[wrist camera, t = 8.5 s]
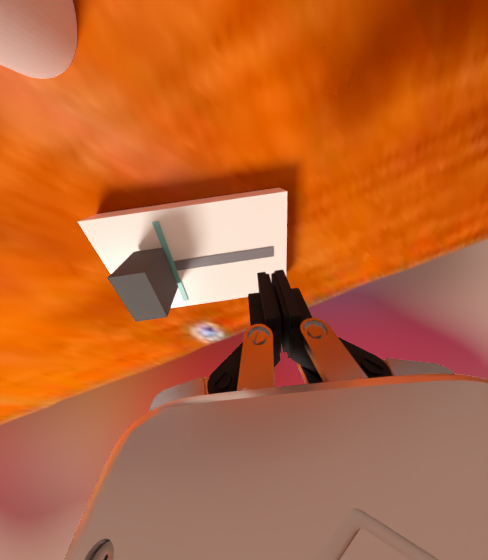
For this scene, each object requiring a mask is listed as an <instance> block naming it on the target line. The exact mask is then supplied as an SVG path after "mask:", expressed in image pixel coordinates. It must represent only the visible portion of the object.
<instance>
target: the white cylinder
mask: <svg viewBox="0 0 488 560" xmlns="http://www.w3.org/2000/svg"><path fill="white" fill-rule="evenodd" d="M77 35H78V34H77V19H76V13H75V8H74V3H73V0H0V65H2V66H5V67H7V68H9V69H12V70H14V71H16V72H19V73H21V74H23V75H26V76H29V77H33V78H39V79H48V78H53V77H56V76H58V75H60V74H62V73H63V72H64V71H65V70H66V69H67V68H68V67H69V66H70V64H71V62H72V60H73V58H74V55H75V52H76V47H77Z"/></svg>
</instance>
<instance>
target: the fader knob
mask: <svg viewBox="0 0 488 560" xmlns="http://www.w3.org/2000/svg"><path fill="white" fill-rule="evenodd" d="M108 280H109V281H110V283H111V284H112V286H113V287H114V289H115V291H116V292H117V294H118V295H119V297H120V298H121V300H122V301H123V303H124V304H125V306H126V307H127V309H128V310H129V312H130V314H131V315H132V317H133V318H134V320H135V321H143V320H150V319H157V318H163V317H167V316H168V313H169V310H170V308H171V305H172V302H173V300H174V297H175V294H176V292H177V289H178V284H177V282H176V279H175V277H174V274H173V272H172V269H171V267H170V264H169V262H168V259H167V257H166V254H165V252H164V249H163V248H156V249H149V250H142V251H135V252H133V253H132V254H131V255H130V256H129V257H128V258H127V259H126V260H125V261H124V262H123V263H122V264H121V265H120V266H119V267H118V268H117V269H116V270H115V271H114V272H113V273H112V274H111V275H110V276H109V277H108Z"/></svg>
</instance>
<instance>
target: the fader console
mask: <svg viewBox="0 0 488 560" xmlns="http://www.w3.org/2000/svg"><path fill="white" fill-rule="evenodd" d="M78 223H79V225H80V226H81V228H82V230H83V231H84V233H85V234H86V236H87V238H88V239H89V241H90V242H91V244H92V245H93V247H94V249H95V250H96V252H97V253H98V255H99V257H100V258H101V260H102V261H103V263H104V264H105V266H106V268H107V269H108V271H109V272H110V274H112V273H113V272H114V271H115V270H116V269H117V268H118V267H119V266H120V265H121V264H122V263H123V262H124V261H125V260H126V259H127V258H128V257H129V256H130V255H131V254H132V253H133V252H135V251H142V250H149V249H156V248H163V249H164V252H165V254H166V257H167V259H168V262H169V264H170V267H171V269H172V272H173V274H174V277H175V279H176V282H177V284H178V289H177V292H176V294H175V297H174V300H173V302H172V305H171V308H176V307H182V306H189V305H196V304H203V303H209V302H216V301H223V300H229V299H236V298H243V297H248V294H250V293H259V288H258V278H257V273H259V272H266V274H269V275H270V279H271V273H274V271H276V270H283V271H284V273H285V275H286V259H287V191H286V190H284V189H282V188H280V187H279V188H272V189H265V190H258V191H251V192H244V193H238V194H231V195H224V196H217V197H210V198H203V199H196V200H189V201H182V202H175V203H169V204H162V205H155V206H148V207H141V208H134V209H127V210H120V211H113V212H106V213H100V214H95V215H93V216H90V217H88V218H85V219H83V220H80V221H78ZM271 282H272V279H271Z"/></svg>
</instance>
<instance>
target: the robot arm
mask: <svg viewBox="0 0 488 560" xmlns="http://www.w3.org/2000/svg"><path fill="white" fill-rule="evenodd" d="M257 278H258V288H259V293H250V294H248V299H249V311H250V322H251V326H250V327H249V328H247V330H246V331H245V334H244V341H243V343H242V344H241V345H240V346H239V347H238V348H237V349H236V350H235V351H234V352H233V353H232V354H231V355H230V356H229V357H228V358H227V359H226V360H225V361H224V362H223V363H222V364H221V365H220V366H219V367H218V368H217V369H216V370H215V371H214V372H213V373H212V374H211V375H210V376H209V377H207V378H203V377H200V378H198V379H195V380H192V381H189V382H186V383H183V384H180V385H177V386H174V387H171V388H169V389H166V390H164V391H162V392H160V393H159V394H158V395H157V396H156V397H155V398H154V400H153V402H152V404H151V407H150V412H148V413H147V414H145V415H143V416H142V417H141V418H139V419H138V420H136V421H135V422H134V423H133V424H132V425H131V426H129V427H128V429H127V430H126V431H125V432H124V434H123V435H122V436H121V437H120V439H119V440H118V442H117V444H116V445H115V447H114V449H113V451H112V453H111V455H110V456H109V458H108V460H107V462H106V465H105V467H104V469H103V471H102V473H101V475H100V477H99V479H98V482H97V484H96V486H95V488H94V490H93V493H92V495H91V497H90V500H89V502H88V504H87V506H86V509H85V511H84V514H83V516H82V518H81V521H80V523H79V525H78V527H77V530H76V532H75V535H74V537H73V539H72V542H71V544H70V547H69V549H68V552H67V554H66V557H65V559H64V560H488V379H483V378H479V377H474V376H468V375H459V374H455V373H453V372H452V371H451V370H449V369H448V368H446V367H443V366H441V365H438V364H434V363H426V362H417V361H408V360H398V359H389V358H386V360H382V359H380V358H378V357H377V356H375V355H373V354H371V353H369V352H367V351H365V350H363V349H361V348H359V347H357V346H355V345H353V344H351V343H349V342H347V341H345V340H343V339H341V338H339V337H337V336H336V334H335V333H334V332H333V330H332V329H331V328H330V327H329V325H328V324H327V323H326V322H324V321H323V320H320V319H317V318H312V316H311V314H310V312H309V310H308V307H307V305H306V303H305V301H304V299H303V297H302V295H301V292H300V290H299V289H298V288H293V289H291V288H290V285H289V283H288V280H287V278H286V275H285V273H284V271H283V270H276V271H274V273H271V279H272V282H271V279H270V275H269V274H266V272H259V273H257ZM281 343H282V347H283V351H284V352H287V354H288V358H292V360H294V361H295V362H297V365H298V368H299V370H300V372H301V374H302V377H303V379H304V381H305V384H303V385H293V386H283V387H275V377H274V367H275V366H276V365H277V363H278V362H279V361H280V353H281Z"/></svg>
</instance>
